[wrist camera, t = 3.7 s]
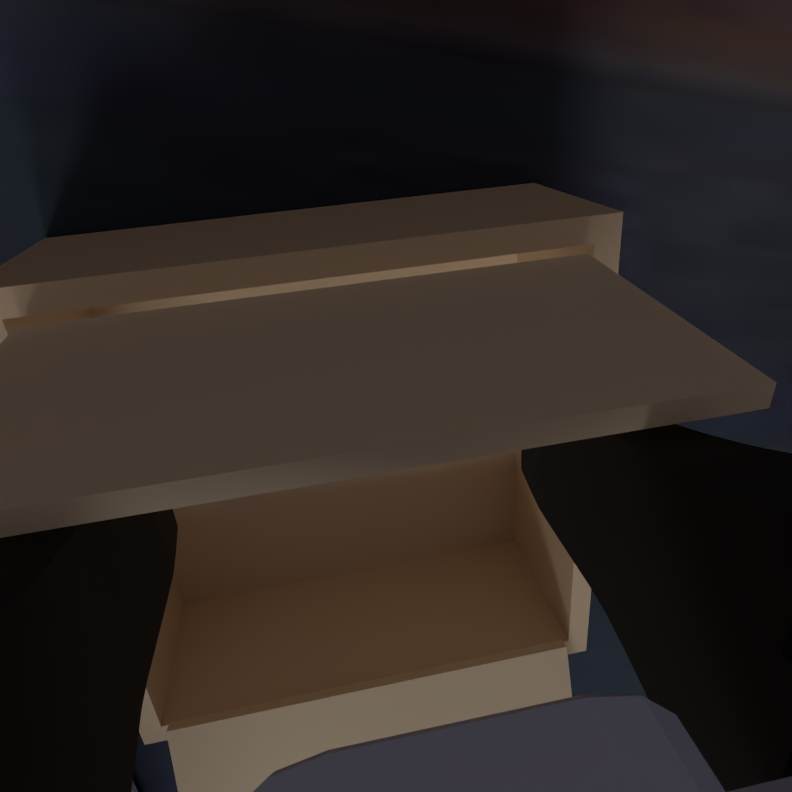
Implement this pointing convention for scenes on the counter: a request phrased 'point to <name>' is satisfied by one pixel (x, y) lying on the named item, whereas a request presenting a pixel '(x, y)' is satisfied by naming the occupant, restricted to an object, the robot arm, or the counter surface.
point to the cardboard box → (346, 499)
